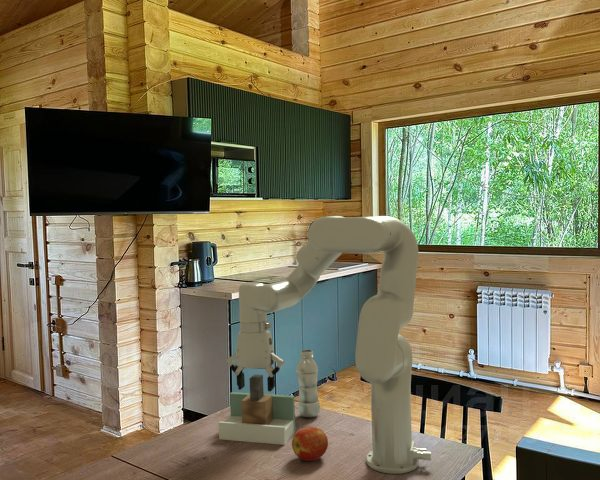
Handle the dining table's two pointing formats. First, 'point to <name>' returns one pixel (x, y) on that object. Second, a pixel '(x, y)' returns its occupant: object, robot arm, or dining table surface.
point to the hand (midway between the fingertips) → (256, 388)
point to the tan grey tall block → (257, 404)
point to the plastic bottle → (307, 385)
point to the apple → (309, 443)
